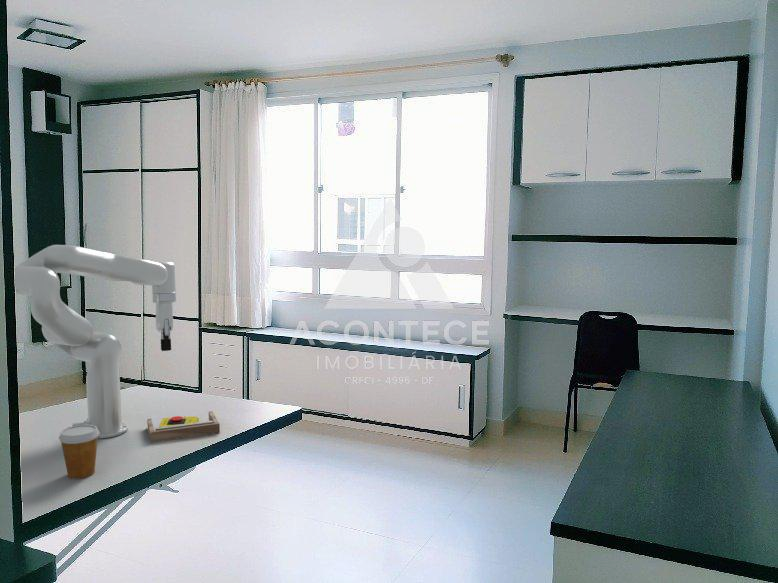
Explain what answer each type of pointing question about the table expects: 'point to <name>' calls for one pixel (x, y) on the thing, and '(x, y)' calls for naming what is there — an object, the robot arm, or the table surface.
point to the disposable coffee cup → (79, 450)
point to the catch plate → (184, 425)
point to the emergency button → (178, 421)
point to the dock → (183, 430)
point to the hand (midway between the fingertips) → (166, 350)
